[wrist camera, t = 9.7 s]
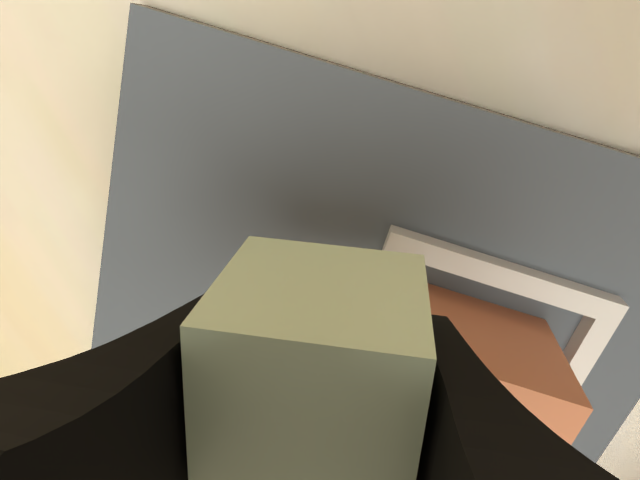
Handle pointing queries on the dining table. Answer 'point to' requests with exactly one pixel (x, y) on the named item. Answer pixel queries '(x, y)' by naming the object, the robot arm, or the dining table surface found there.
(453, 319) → the block
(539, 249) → the board
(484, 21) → the dining table surface
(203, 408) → the block
